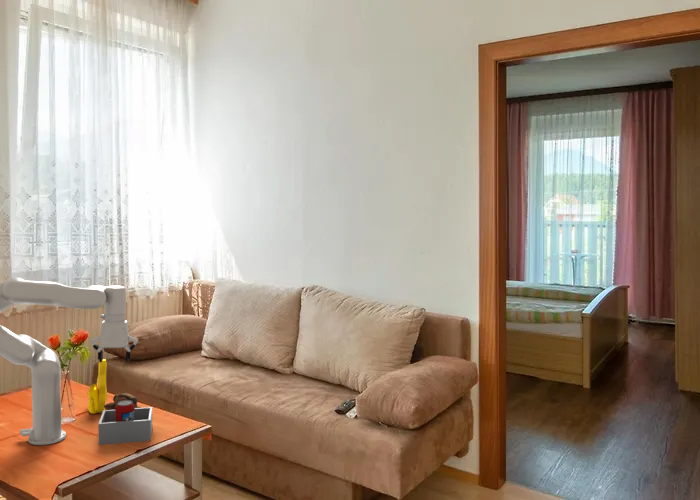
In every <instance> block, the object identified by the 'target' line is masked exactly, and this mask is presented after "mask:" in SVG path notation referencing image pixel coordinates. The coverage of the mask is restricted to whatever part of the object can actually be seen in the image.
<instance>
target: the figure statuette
mask: <svg viewBox="0 0 700 500" xmlns="http://www.w3.org/2000/svg"><path fill="white" fill-rule="evenodd" d="M107 365H108V362H107V360H106V358H105V359H104V358H103V361H102V362H99V361H98V370H97V371H98V375H97V379H96V383H92V385H90V387H89V388H88V392H87V393H86V394H87V397H88V403H87V409H88V412H89V413H90V414H98V413H101V414H102V413H103V410H105V407H104V405H106V404H107V400H108V391H107V368H108V367H107Z"/></svg>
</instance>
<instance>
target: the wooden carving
mask: <svg viewBox="0 0 700 500" xmlns="http://www.w3.org/2000/svg"><path fill="white" fill-rule="evenodd" d="M123 400H130V401H132V403H133V404H134V408H143V407H142V406H138V397H137V396H134V395H133V394H130V393H127V392H125V393H120V394H119V393H116V394H115V395H114V396H113V398H112V401H111V402H108V403H106V404H105V405H104V407H105V410H115V408H116V406H117V403H118V402H119V401H123Z"/></svg>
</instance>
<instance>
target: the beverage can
mask: <svg viewBox="0 0 700 500" xmlns="http://www.w3.org/2000/svg"><path fill="white" fill-rule="evenodd" d="M115 420H116V422H120V421H134V420H135V415H134V404H133V403H132V401H130V400H123V401H119V402H118V403H117V406H116V408H115Z"/></svg>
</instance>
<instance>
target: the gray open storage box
mask: <svg viewBox="0 0 700 500" xmlns="http://www.w3.org/2000/svg"><path fill="white" fill-rule="evenodd" d="M134 415H135V420H134V421H120V422H116V420H115V410H103V412H101V417H100V419H99V421H98V425H97V427H98V430H97V431H98V446H103V445H106V446H107V445H117V444H126V443H127V444H129V443H130V444H131V443H137V442H138V443H140V442H141V443H142V442H151V439H152V433H153V432H152V431H153V406H151V407H150V406H149V407H142V408H134Z"/></svg>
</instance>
